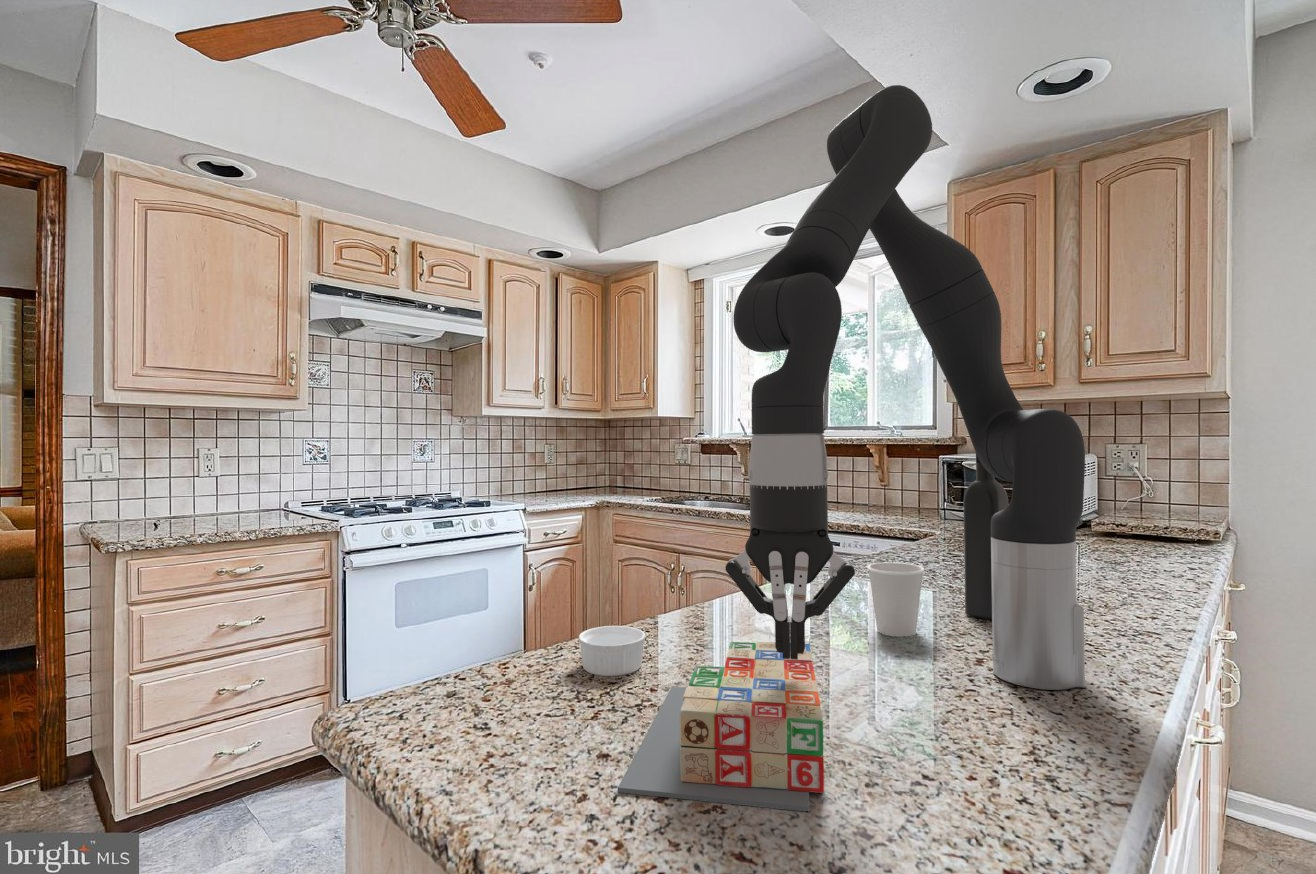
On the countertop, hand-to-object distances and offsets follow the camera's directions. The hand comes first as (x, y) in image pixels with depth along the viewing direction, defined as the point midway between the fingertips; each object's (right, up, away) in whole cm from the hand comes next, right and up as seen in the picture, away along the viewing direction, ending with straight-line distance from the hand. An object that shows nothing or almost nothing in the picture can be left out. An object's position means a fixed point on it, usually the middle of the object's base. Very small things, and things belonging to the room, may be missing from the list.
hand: (790, 656), depth 66 cm
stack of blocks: (+3, -5, 0) cm, 6 cm away
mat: (-6, -9, +1) cm, 11 cm away
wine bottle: (+42, -9, +46) cm, 63 cm away
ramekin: (-19, -9, +24) cm, 32 cm away
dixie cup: (+24, -9, +38) cm, 46 cm away
